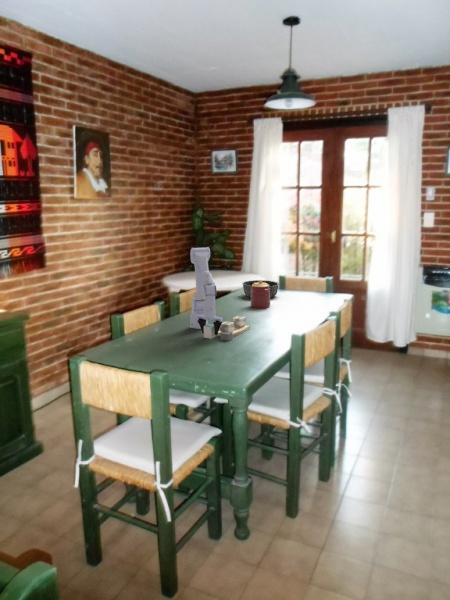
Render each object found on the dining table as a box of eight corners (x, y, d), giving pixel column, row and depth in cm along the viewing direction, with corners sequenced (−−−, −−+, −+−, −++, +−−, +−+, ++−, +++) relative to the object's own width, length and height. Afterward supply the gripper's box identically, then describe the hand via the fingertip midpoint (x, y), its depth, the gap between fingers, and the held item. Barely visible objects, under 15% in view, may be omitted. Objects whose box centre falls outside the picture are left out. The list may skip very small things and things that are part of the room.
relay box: (219, 339, 248) (219, 333, 247) (223, 337, 251) (223, 331, 250) (228, 341, 245) (228, 334, 245) (232, 339, 249) (232, 332, 248)
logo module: (203, 337, 252) (203, 325, 250) (208, 335, 256) (208, 323, 255) (211, 338, 250) (211, 326, 248) (216, 336, 254) (216, 324, 253)
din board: (215, 335, 256) (215, 323, 254) (234, 326, 273) (233, 315, 271) (232, 337, 251) (232, 325, 250) (250, 328, 268) (250, 317, 267)
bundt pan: (285, 295, 359) (285, 281, 357) (268, 301, 337) (268, 287, 335) (253, 292, 372) (253, 279, 370) (235, 298, 351) (235, 284, 349)
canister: (270, 308, 316) (271, 281, 312) (250, 308, 316) (250, 281, 312) (269, 304, 328) (269, 278, 325) (250, 304, 329) (250, 278, 325)
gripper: (193, 308, 250) (193, 333, 253) (217, 311, 243) (218, 337, 246) (200, 305, 256) (201, 330, 259) (225, 308, 249) (225, 334, 252)
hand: (210, 333), depth 252 cm, fingers open, 7 cm apart
